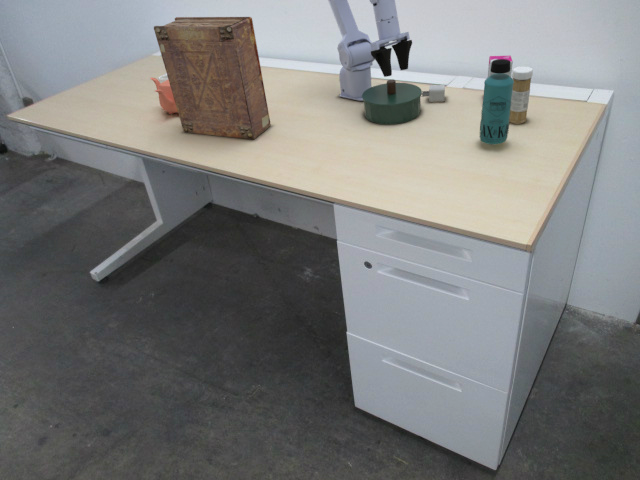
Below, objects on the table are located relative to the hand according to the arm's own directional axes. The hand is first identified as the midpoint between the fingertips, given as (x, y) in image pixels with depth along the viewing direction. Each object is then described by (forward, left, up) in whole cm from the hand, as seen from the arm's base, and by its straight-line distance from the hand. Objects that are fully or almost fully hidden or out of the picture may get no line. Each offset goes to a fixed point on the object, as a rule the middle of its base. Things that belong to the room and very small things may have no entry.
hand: (396, 72), depth 139 cm
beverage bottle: (+32, -6, -12) cm, 34 cm away
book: (-38, -32, -12) cm, 51 cm away
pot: (-1, -1, -11) cm, 12 cm away
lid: (-1, -1, -6) cm, 6 cm away
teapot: (-64, -30, -12) cm, 72 cm away
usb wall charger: (+4, +12, -12) cm, 17 cm away
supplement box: (+20, +20, -12) cm, 31 cm away
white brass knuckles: (-90, -10, -12) cm, 91 cm away
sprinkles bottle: (+31, +9, -12) cm, 34 cm away
